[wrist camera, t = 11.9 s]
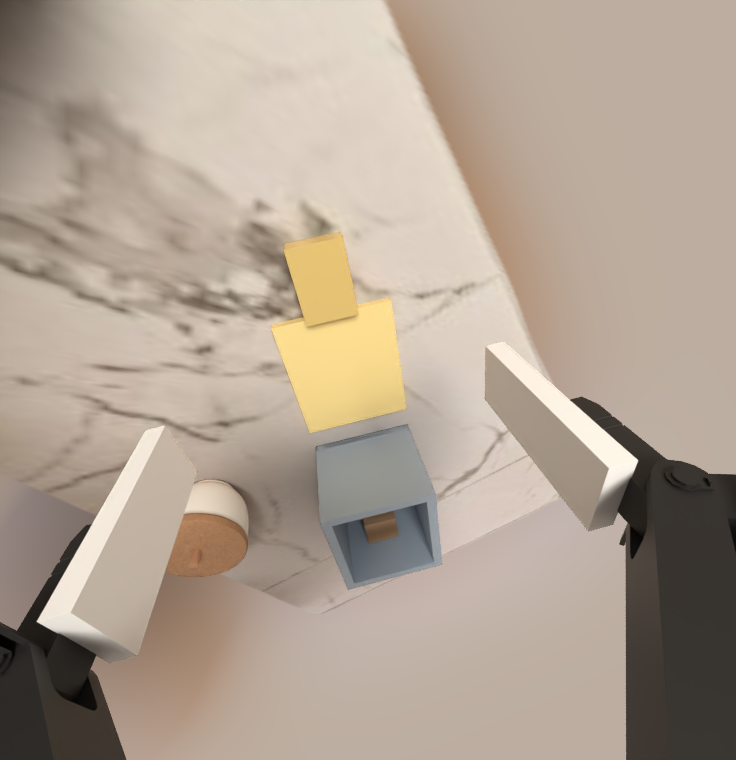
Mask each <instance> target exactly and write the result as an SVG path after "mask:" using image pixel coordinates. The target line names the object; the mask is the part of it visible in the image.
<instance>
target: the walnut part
mask: <svg viewBox="0 0 736 760" xmlns="http://www.w3.org/2000/svg"><path fill="white" fill-rule="evenodd" d="M363 521H364V526H365V530H366V534H367V538H368V542H369V544H370V543H374V542H378V541H382V540H386V539H390V538H394V537H398V530H397V524H396V518H395V514H394V511H390V512H386V513H382V514H378V515H374V516H370V517H366V518H363Z"/></svg>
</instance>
